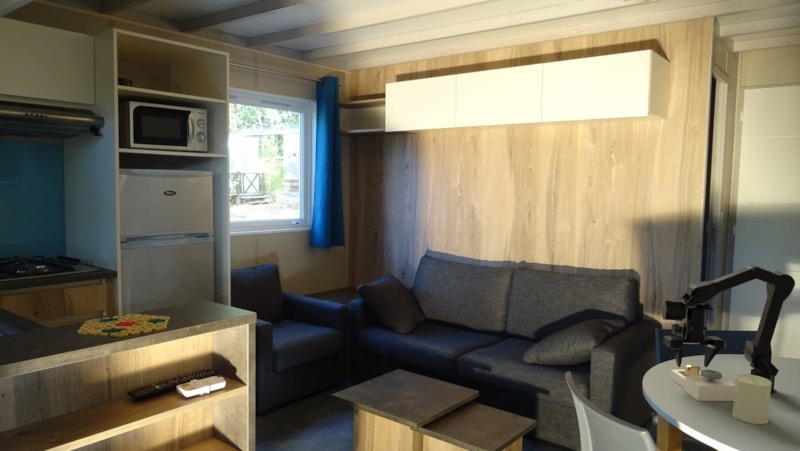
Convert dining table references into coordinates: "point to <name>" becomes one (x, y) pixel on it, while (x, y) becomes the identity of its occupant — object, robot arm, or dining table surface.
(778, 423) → the dining table surface
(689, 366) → the brass cylinder
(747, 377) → the can
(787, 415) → the dining table surface
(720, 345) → the robot arm
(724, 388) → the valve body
